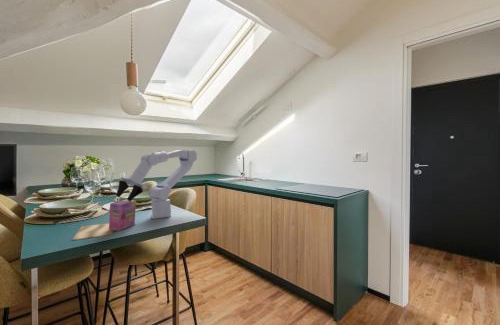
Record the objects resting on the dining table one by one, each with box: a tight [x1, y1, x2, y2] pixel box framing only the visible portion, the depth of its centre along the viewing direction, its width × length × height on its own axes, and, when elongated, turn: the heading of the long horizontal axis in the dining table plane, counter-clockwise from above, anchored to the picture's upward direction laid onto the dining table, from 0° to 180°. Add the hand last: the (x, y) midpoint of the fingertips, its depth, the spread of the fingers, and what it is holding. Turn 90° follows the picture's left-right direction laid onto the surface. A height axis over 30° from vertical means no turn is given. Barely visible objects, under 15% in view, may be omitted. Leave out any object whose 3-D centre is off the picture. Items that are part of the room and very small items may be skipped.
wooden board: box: [71, 222, 114, 241], centre depth 110 cm, size 14×18×1 cm
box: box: [108, 198, 137, 232], centre depth 114 cm, size 10×6×12 cm, turn 168°
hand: (123, 198), depth 116 cm, fingers open, 6 cm apart
